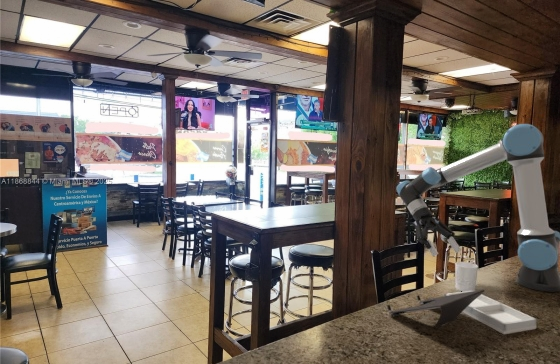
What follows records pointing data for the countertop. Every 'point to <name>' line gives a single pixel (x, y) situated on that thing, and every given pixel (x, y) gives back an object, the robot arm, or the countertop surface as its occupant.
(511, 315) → the white divided tray
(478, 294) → the portable electronic device stand
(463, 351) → the countertop surface
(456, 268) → the white cup
